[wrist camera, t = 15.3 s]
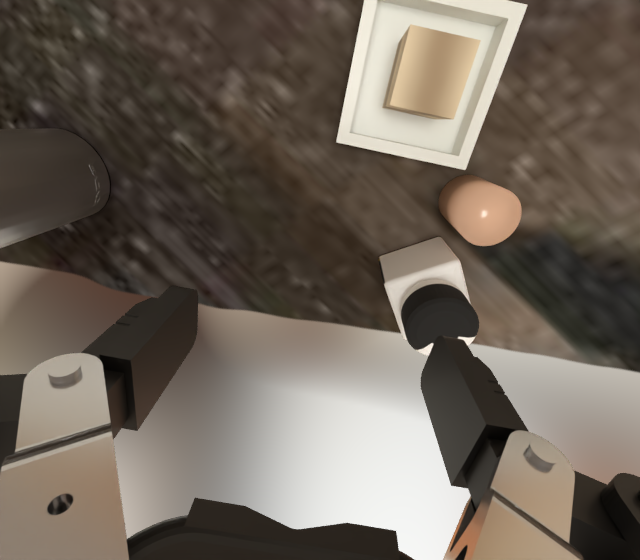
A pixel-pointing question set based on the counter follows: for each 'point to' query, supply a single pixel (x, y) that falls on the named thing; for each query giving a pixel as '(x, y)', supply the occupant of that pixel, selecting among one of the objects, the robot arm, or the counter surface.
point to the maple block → (430, 72)
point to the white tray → (376, 65)
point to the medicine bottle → (428, 294)
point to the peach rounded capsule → (479, 209)
